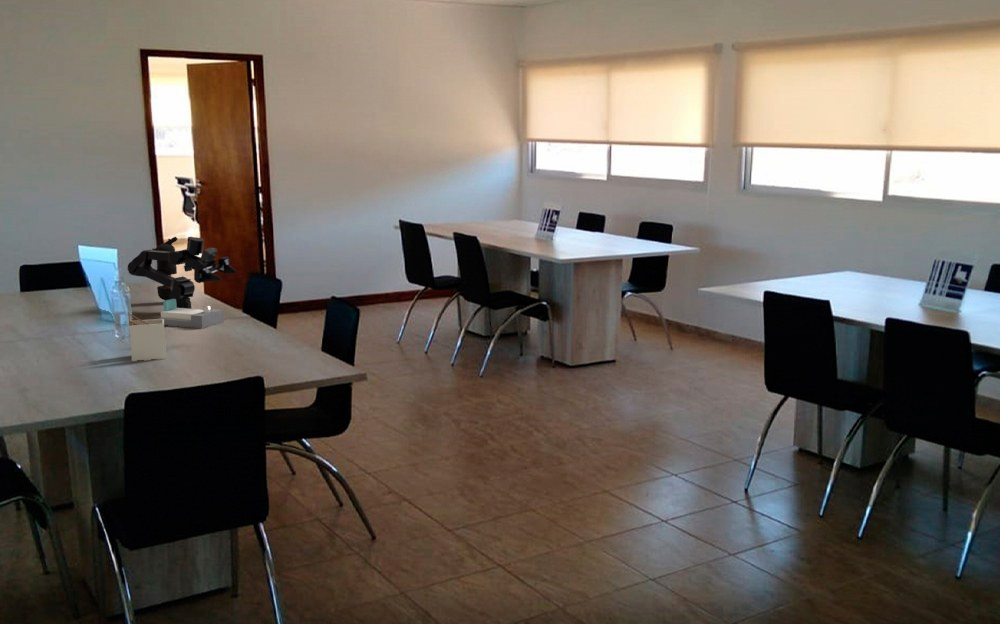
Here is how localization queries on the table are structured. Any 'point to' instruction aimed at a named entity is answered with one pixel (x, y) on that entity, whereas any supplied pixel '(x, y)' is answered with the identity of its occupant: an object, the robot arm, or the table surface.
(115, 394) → the table surface
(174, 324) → the filter housing
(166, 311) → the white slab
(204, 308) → the release plunger
